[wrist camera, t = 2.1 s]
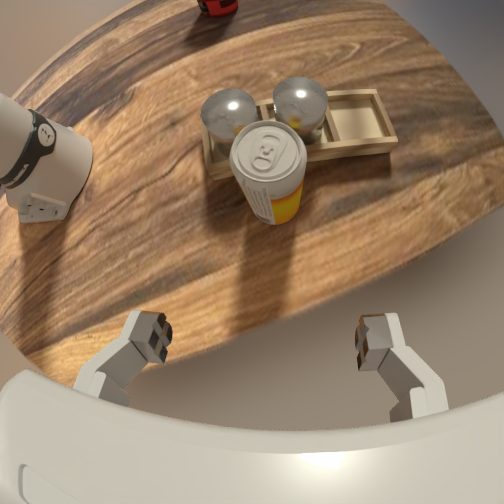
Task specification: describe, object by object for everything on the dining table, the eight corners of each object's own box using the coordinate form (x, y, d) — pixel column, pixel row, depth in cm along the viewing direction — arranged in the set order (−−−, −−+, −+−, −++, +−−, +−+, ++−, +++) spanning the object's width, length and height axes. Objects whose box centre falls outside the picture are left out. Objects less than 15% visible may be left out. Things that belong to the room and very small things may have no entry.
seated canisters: (218, 163, 33) (203, 137, 27) (213, 125, 34) (198, 96, 27) (327, 143, 32) (335, 114, 25) (315, 106, 33) (319, 74, 26)
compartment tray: (213, 180, 35) (206, 171, 32) (206, 126, 36) (199, 114, 33) (390, 152, 33) (398, 141, 29) (370, 102, 34) (375, 89, 30)
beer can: (305, 188, 34) (316, 128, 19) (290, 232, 34) (293, 198, 19) (260, 173, 35) (243, 109, 20) (244, 216, 34) (214, 174, 20)
